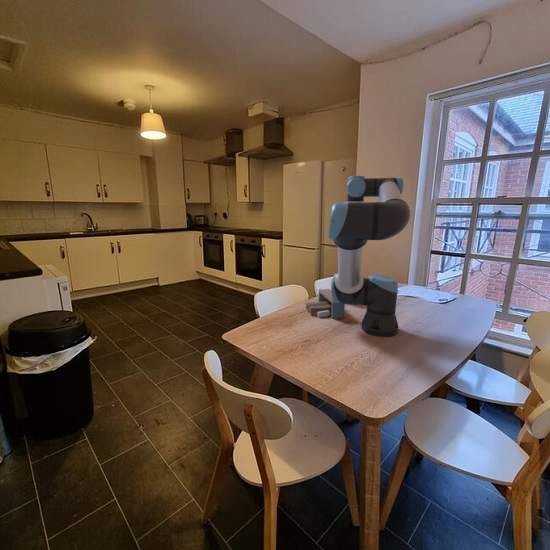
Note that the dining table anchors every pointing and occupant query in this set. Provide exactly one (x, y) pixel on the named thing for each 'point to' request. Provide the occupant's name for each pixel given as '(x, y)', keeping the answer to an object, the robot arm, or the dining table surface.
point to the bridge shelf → (336, 307)
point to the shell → (318, 307)
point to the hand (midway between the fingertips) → (352, 260)
